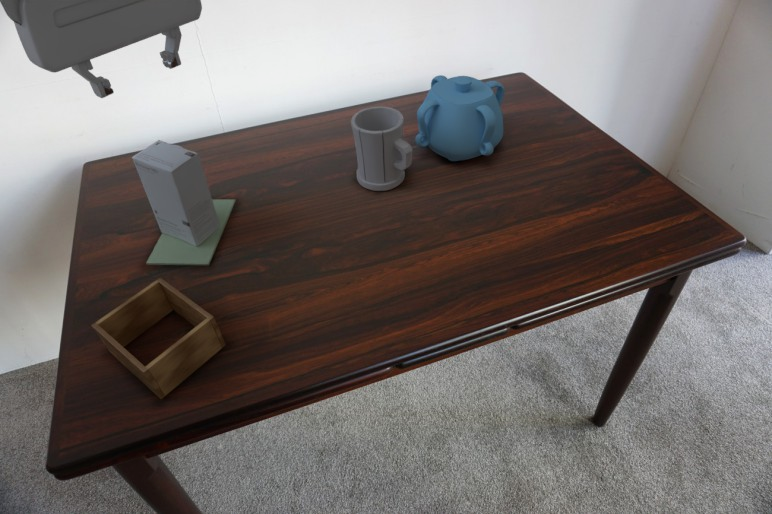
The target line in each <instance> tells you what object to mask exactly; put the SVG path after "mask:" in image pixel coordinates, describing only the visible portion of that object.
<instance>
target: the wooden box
mask: <svg viewBox="0 0 772 514" xmlns="http://www.w3.org/2000/svg"><path fill="white" fill-rule="evenodd" d="M173 311H174V312H175V313H176V314H178V315H179V316H180V317H181V318H183V319H184V320H185V321H187V322H188V323H189V324H191V325H192V326H193V328H192V329H190V331H188V332H187V333H186V334H185V335H184V336H182V337H181V338H180V339H178V340H177V341H176V342H174V343H173V344H172V345H171V346H169V347H168V348H167V349H166V350H164V351H163V352H162V353H160V354H159V355H158V356H157V357H155V358H154V359H153V360H152V361H150V362H149V363H148V364H147V365H144V364H143V363H142V362H140V361H139V360H138V359H137V358H136V357H135V356H134V355H133V354H131V353H130V352H129V351H128V350H127V349H126V348H125V347H126V346H127V345H129V344H130V343H131V342H133V341H134V340H136V338H138V337H139V336H141V335H142V334H143V333H145V332H146V331H148V330H149V329H150V328H151V327H153V326H154V325H156V324H157V323H159V321H161V320H162V319H164V318H165V317H166V316H167V315H169V314H170V313H172V312H173ZM91 327H92V329H93V330H94V332H95V333H96V335H97V336H98V337H99V339H100V340H101V341H102V343H103V344H104V346H105V348H106V349H107V350H108V351H109V353H110V354H112V356H113V357H114V358H115V359H116V360H117V361H119V363H121V364H122V365H123V366H124V367H125V368H126V369H127V370H128V371H130V373H131V374H133V375H134V376H135V377H136V378H137V379H138V380H139V381H140V382H142V384H143V385H145V386H146V387H147V388H148V389H149V390H150V391H151V392H152V393H153V394H155V395H156V396H157V397H158V398H159V399H160V400H163V399H164V398H165V397H166V396H167V395H168V394H169V393H171V392H172V391H173V390H174V389H176V388H177V387H178V386H179V385H180V384H182V383H183V381H185V380H187V378H189V377H190V376H191V375H192V374H193V373H195V372H196V371H198V369H199V368H200V367H202V366H203V365H204V364H206V362H208V361H209V360H210V359H211V358H213V356H214V355H216V354H217V353H219V351H221V349H223V348H224V347H226V342H225V340H224V338H223V336H222V333H221V330H220V328H219V326H218V324H217V322H216V319H215V316H213V315H212V314H211V313H209V312H208V311H206V310H205V309H204V308H203V307H201V306H199V304H197V303H196V302H194V301H192V299H190V298H189V297H187V296H186V295H185V294H183V293H182V292H181V291H179V290H178V289H177V288H175V287H174V286H173V285H171V284H169V283H168V282H167V281H165V280H164V279H163V278H161V277H159V278H157V280H155V281H153V282H151V283H150V284H149V285H147V286H146V287H145V288H143V289H141V290H140V291H139V292H137V293H136V294H134V295H132V297H130V298H129V299H127V300H126V301H124V302H123V303H121V304H120V305H119V306H117V307H115V308H114V309H113V310H111V311H110V312H108V313H107V314H105V315H103V317H101V318H100V319H98V320H97V321H95V322H94V323H92V324H91Z"/></svg>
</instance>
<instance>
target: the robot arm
mask: <svg viewBox="0 0 772 514" xmlns="http://www.w3.org/2000/svg"><path fill="white" fill-rule="evenodd" d="M0 4H1V6H2V8H3V10H4V12H5V15H6V16H7V17H8V18H9V19H10V20H11V21H12V22H13V24H14V26H15V30H16V33H17V35H18V38H19V41H20V43H21V46H22V48H23V51H24V52H25V54H26V57H27V58H28V60H29V61H30V62H31V63H32V64H33V65H35V66H36V67H38V68H40V69H42V70H45V71H47V72H49V73H59V72H62V71H64V70H67V69H69V68H71V70H73V71H74V72H75V73H76V74H78V75H79V76H81V77H82V78H83V79H84V80H86V81H87V82H89V85H90V86H91V90H92V91H93V93H94V94H95V96H97V97H98V98H100V99H104V98H106V97H108V96H110V95H113V94H114V89H113V88H112V84H111V82H110V80H109V79H108V78H105V77H104V76H101V75H100V76H95V75H94V73H92V72H91V71H92V70H93V69H94V66H93V64H92V61H91V60H93V59H96V58H99V57H101V56H103V55H108V54H110V53H111V52H112V53H113V52H115V51H117V50H120V49H123V48H126V47H129V46H131V45H133V44H136V43H138V42H141V41H144V40H147V39H149V38H152V37H155V36H157V35H163V36H165V43H164V44H165V45H164V50H162V51H160V52H159V55H160V58H161V59H162V60H161V61H162V65H163V66H164V67H165V68H168V69H170V70H171V69H175V68H177V67H179V66H181V65H182V60H181V58H180V54H179V51H180V46H181V41H182V36H183V35H182V32H181V28H180V27H181V26H184V25H187V24H189V23H193V22H195V21H198V20H199V19H200V18H201V14H202V10H203V4H202V0H0Z"/></svg>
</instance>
